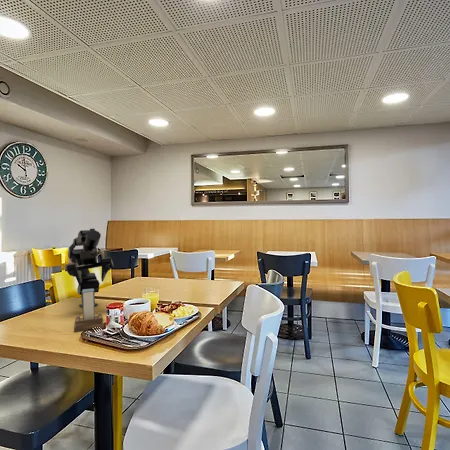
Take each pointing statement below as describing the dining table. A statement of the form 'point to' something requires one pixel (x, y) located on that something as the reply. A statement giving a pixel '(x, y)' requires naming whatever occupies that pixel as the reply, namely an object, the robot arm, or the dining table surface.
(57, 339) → the dining table surface
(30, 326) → the dining table surface
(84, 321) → the stand
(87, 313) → the grey rectangular block
